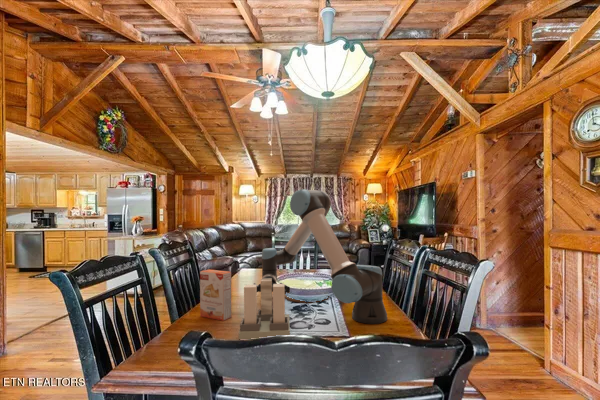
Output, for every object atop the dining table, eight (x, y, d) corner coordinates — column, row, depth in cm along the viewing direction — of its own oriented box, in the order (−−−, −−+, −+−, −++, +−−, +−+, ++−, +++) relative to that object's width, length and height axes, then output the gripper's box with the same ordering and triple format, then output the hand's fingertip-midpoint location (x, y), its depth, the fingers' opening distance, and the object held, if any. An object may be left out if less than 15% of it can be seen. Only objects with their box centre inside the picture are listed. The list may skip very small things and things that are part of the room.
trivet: (326, 290, 189) (326, 287, 189) (332, 303, 164) (332, 299, 164) (284, 291, 188) (284, 288, 188) (284, 304, 163) (284, 300, 163)
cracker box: (199, 317, 144) (199, 271, 145) (208, 313, 150) (208, 268, 150) (223, 321, 138) (222, 273, 138) (232, 317, 143) (231, 271, 144)
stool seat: (245, 322, 136) (244, 278, 137) (289, 321, 137) (288, 277, 138) (238, 340, 117) (238, 289, 118) (289, 338, 118) (289, 287, 119)
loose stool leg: (261, 316, 135) (261, 278, 135) (272, 316, 135) (271, 278, 136) (261, 319, 130) (260, 280, 131) (271, 319, 131) (271, 280, 131)
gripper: (294, 290, 154) (295, 303, 132) (242, 291, 152) (235, 305, 131) (294, 275, 154) (295, 285, 133) (242, 276, 153) (235, 286, 132)
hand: (265, 295), depth 132 cm, fingers open, 13 cm apart
